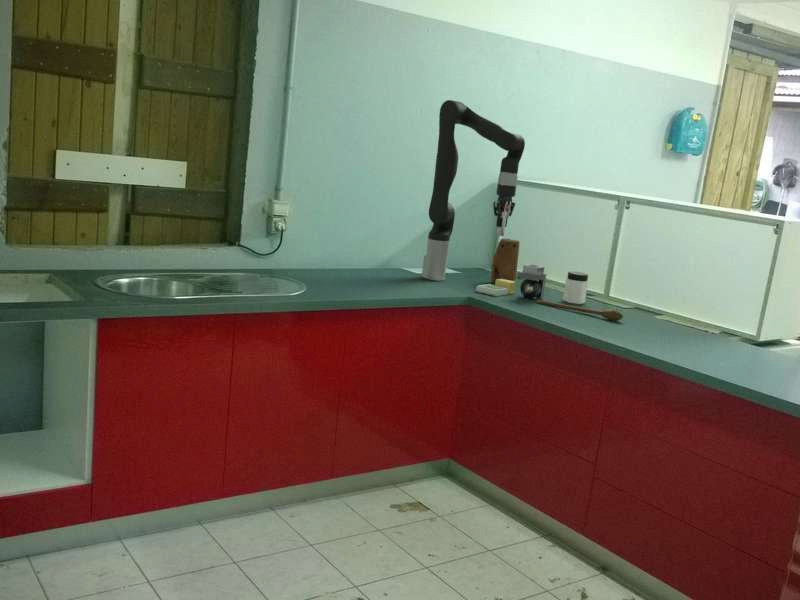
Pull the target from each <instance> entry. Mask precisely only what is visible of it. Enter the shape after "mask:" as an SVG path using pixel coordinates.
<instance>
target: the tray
mask: <svg viewBox="0 0 800 600" xmlns="http://www.w3.org/2000/svg"><path fill="white" fill-rule="evenodd" d="M475 292H477V293H481V294H485V295H488V296H492V297H501V296H507V295H509V294H508V293H509V288H504V287H500V286H496V285H495V284H493V283H492V284H491V283H487V284H479V285H476V290H475Z"/></svg>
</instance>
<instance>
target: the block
mask: <svg viewBox="0 0 800 600" xmlns="http://www.w3.org/2000/svg"><path fill="white" fill-rule="evenodd" d="M520 245H521V244H520V240H515V239H511V238H501V239H500V240H499V242H498V244H497V248H496V251H495V253H494V254H493V260H492V265H491V272H490V282H491V283H492V284H495V282H496V279H505V280H510V281H514V282H516V278H517V273H518V264H519V263H518V262H519V256H520V255H519V252H520Z"/></svg>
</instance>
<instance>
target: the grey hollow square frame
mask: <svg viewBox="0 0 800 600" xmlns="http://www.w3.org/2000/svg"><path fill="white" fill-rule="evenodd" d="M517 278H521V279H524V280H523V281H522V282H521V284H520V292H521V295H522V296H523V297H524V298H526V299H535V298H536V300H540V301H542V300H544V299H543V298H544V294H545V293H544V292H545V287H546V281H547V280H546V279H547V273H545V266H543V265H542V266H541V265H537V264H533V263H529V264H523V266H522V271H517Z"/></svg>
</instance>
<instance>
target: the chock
mask: <svg viewBox="0 0 800 600" xmlns="http://www.w3.org/2000/svg"><path fill="white" fill-rule="evenodd" d="M494 285H496V286H500V287H504V288H509V293H508V295H511V294H512V295H513V294H515V292H516V285H517V281H515V282H514V281H510V280H505V279H496V282H495V283H494Z"/></svg>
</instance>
